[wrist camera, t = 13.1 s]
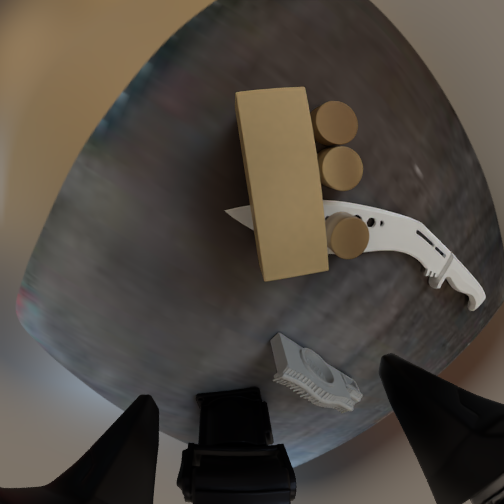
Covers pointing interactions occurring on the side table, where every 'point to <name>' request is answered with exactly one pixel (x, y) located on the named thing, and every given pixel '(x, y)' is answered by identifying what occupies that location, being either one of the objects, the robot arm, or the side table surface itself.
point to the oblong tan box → (282, 181)
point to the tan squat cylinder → (346, 235)
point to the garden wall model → (313, 376)
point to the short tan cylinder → (339, 168)
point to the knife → (400, 245)
